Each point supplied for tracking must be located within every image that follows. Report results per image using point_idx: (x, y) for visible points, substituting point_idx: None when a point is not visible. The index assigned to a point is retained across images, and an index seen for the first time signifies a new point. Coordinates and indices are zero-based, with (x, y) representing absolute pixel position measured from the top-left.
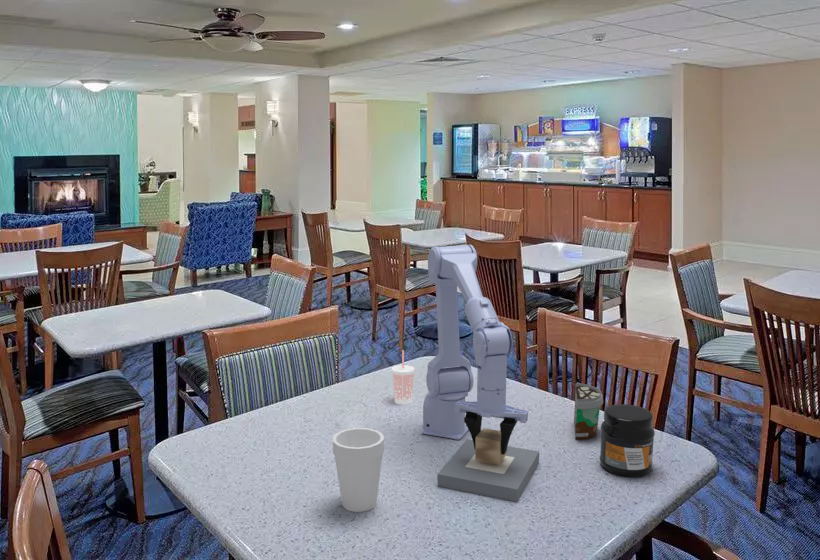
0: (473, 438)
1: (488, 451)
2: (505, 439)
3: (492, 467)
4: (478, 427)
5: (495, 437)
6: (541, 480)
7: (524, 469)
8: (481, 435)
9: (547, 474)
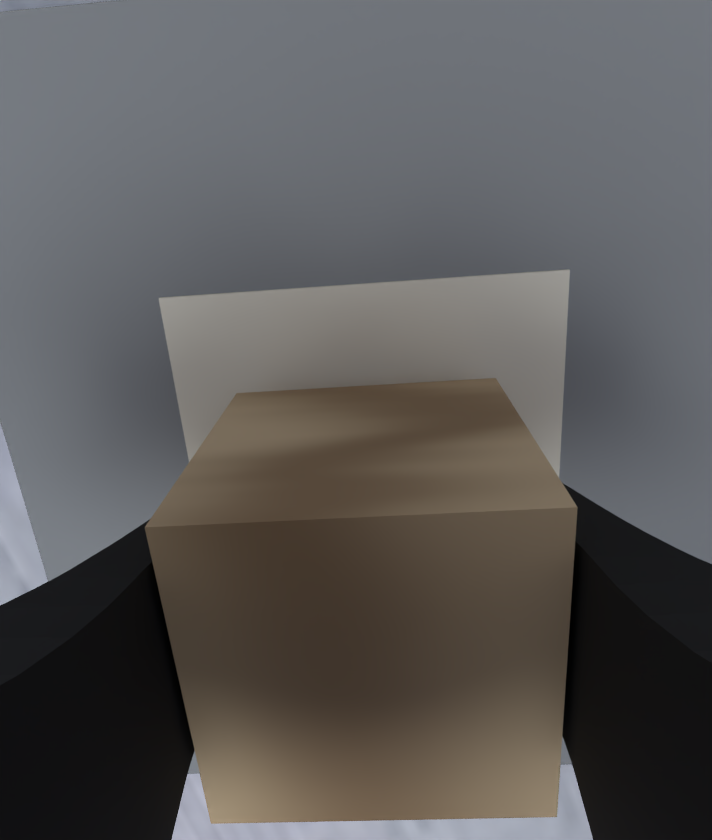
0: (611, 524)
1: (348, 435)
2: (58, 583)
3: (309, 373)
4: (612, 740)
5: (269, 621)
6: (3, 490)
7: (48, 466)
8: (503, 603)
9: (14, 583)
